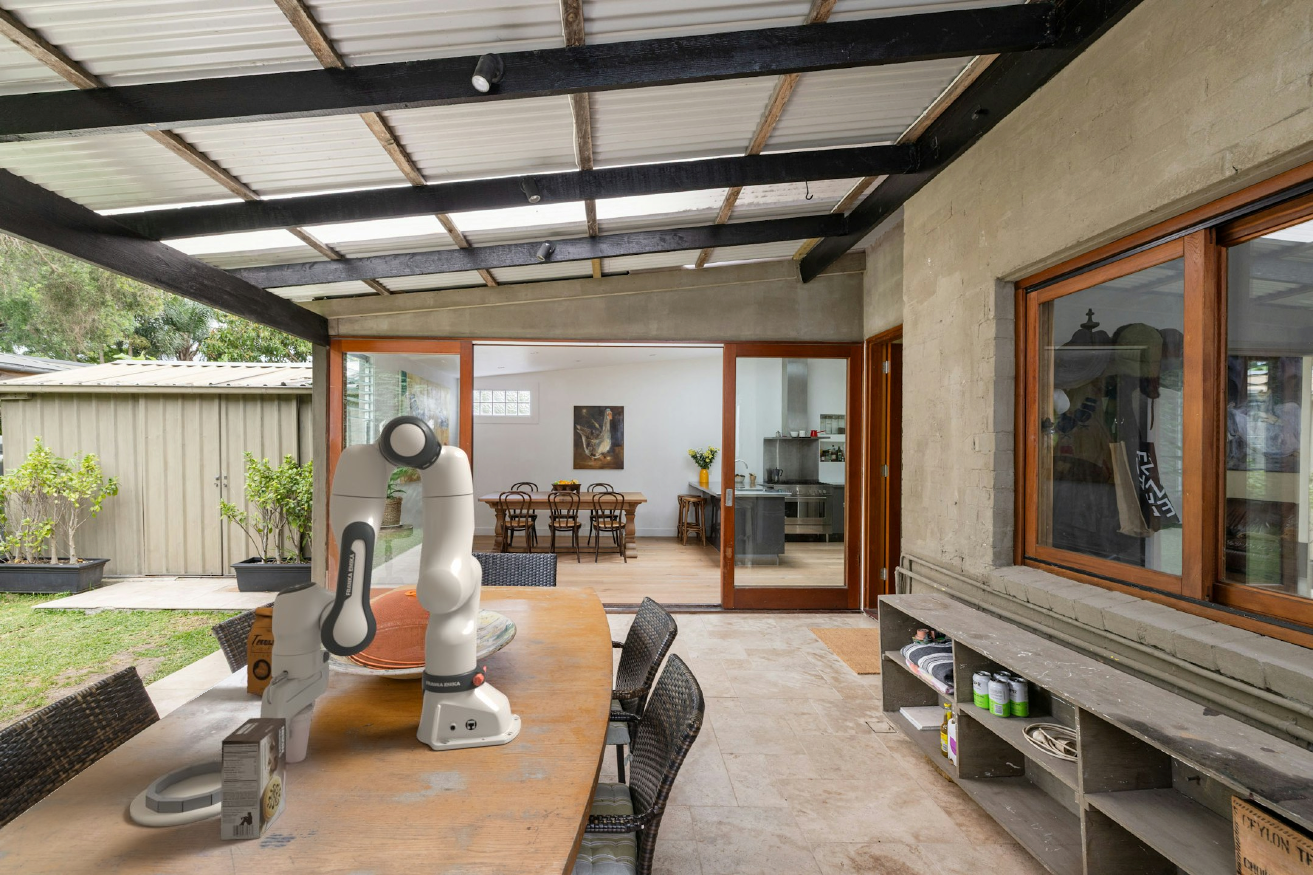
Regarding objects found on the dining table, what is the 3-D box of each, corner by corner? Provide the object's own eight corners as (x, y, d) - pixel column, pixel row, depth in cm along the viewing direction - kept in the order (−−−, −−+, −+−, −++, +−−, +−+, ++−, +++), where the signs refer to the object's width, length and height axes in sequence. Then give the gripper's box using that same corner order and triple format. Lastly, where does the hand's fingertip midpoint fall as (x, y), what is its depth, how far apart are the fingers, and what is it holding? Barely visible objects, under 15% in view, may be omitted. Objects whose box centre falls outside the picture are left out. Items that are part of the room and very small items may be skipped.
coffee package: (278, 702, 164) (279, 613, 164) (240, 697, 168) (241, 610, 168) (310, 688, 174) (311, 605, 174) (273, 683, 177) (274, 601, 178)
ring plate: (285, 767, 130) (285, 752, 130) (221, 825, 110) (221, 807, 110) (182, 769, 130) (182, 753, 130) (99, 827, 110) (99, 809, 110)
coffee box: (248, 810, 115) (249, 717, 115) (287, 808, 116) (288, 715, 116) (218, 841, 106) (219, 740, 106) (260, 838, 107) (261, 738, 107)
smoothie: (297, 767, 131) (298, 696, 131) (269, 764, 132) (270, 693, 132) (320, 752, 137) (321, 685, 137) (293, 749, 138) (294, 682, 138)
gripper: (285, 681, 124) (284, 755, 124) (334, 648, 145) (334, 711, 145) (251, 681, 124) (250, 755, 124) (305, 648, 145) (305, 712, 144)
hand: (295, 731), depth 134 cm, fingers open, 7 cm apart
